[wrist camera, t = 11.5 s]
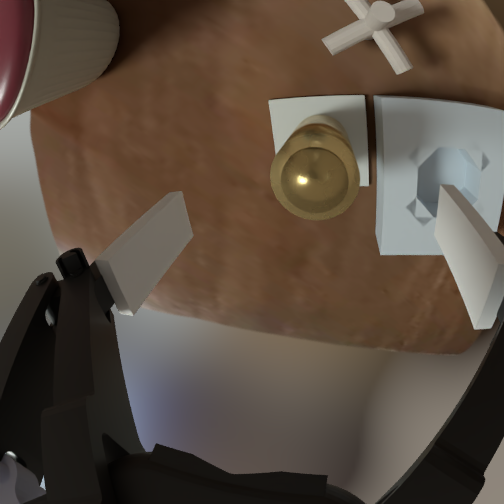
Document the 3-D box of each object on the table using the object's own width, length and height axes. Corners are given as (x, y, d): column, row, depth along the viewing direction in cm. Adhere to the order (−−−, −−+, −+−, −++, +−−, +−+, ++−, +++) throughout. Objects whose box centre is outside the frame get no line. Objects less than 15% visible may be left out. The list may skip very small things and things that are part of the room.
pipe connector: (430, 55, 22) (469, 47, 14) (354, 92, 27) (365, 96, 18) (376, -22, 19) (392, -58, 11) (299, 16, 24) (285, -11, 15)
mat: (269, 100, 29) (268, 100, 29) (364, 95, 27) (364, 95, 26) (280, 186, 34) (279, 187, 34) (368, 184, 32) (368, 186, 31)
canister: (138, 100, 32) (-7, 146, 15) (48, 105, 35) (-65, 150, 18) (150, -30, 22) (13, -65, 5) (54, 0, 25) (-63, 10, 8)
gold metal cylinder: (289, 116, 29) (262, 139, 18) (347, 113, 28) (359, 134, 17) (295, 169, 32) (274, 224, 21) (350, 168, 31) (361, 223, 20)
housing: (373, 95, 26) (381, 97, 22) (488, 106, 22) (509, 112, 18) (375, 232, 34) (380, 254, 30) (476, 233, 30) (491, 254, 26)
